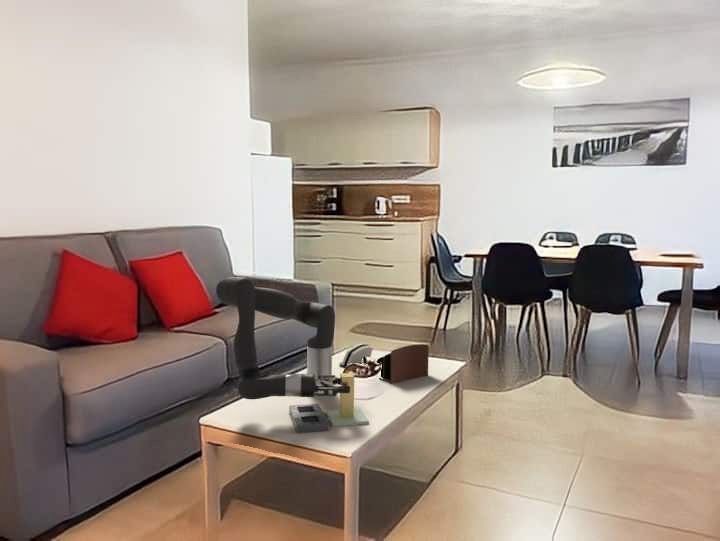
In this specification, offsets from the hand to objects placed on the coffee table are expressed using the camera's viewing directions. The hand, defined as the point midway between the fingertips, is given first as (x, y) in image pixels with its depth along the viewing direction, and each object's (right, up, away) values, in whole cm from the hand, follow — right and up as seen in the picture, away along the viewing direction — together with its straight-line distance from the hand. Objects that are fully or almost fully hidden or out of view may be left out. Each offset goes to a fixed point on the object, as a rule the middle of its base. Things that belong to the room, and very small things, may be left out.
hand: (349, 385), depth 205 cm
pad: (-1, -11, +1) cm, 12 cm away
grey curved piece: (+2, -3, +66) cm, 66 cm away
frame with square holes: (-13, -12, -2) cm, 18 cm away
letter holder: (+21, -6, +49) cm, 53 cm away
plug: (-1, -10, +1) cm, 11 cm away
